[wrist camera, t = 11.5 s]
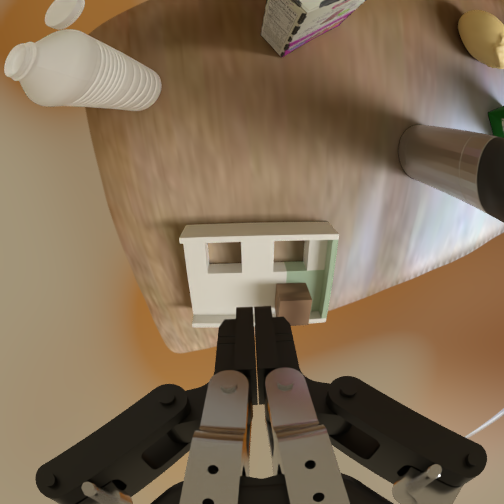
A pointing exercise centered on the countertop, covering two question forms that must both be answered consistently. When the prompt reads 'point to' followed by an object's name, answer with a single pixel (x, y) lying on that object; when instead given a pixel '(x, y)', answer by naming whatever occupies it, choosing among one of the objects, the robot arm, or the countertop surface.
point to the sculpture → (483, 37)
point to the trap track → (256, 267)
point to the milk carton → (497, 121)
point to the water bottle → (80, 68)
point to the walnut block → (293, 303)
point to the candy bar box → (302, 21)
